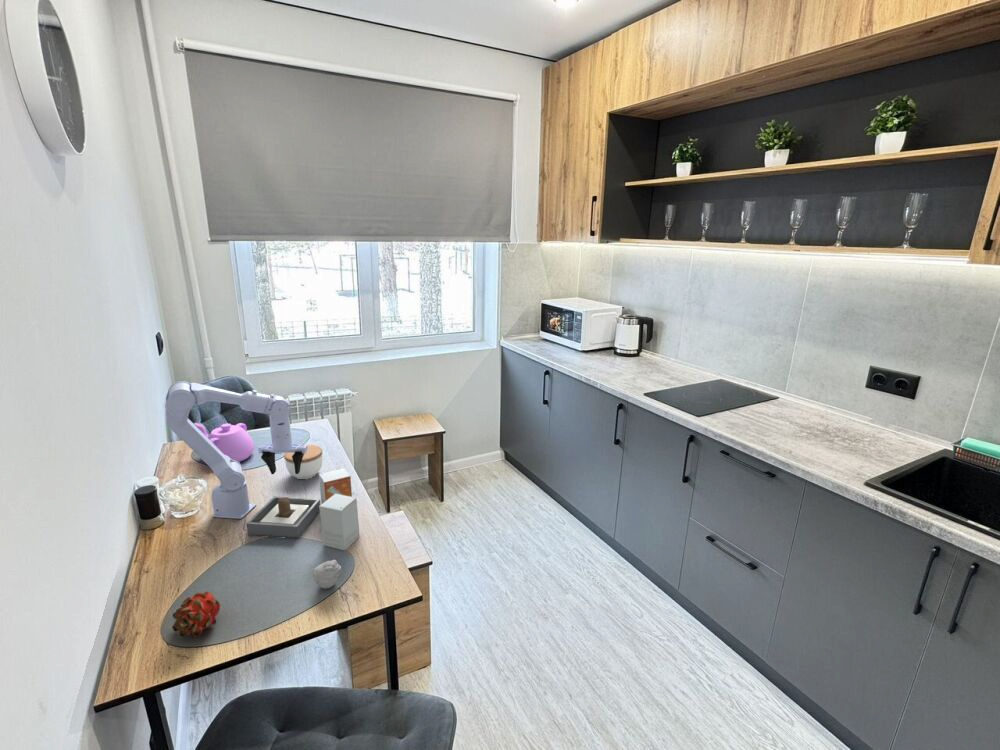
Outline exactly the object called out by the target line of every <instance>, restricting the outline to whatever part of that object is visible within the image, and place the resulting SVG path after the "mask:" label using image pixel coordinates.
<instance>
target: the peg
mask: <svg viewBox="0 0 1000 750" xmlns="http://www.w3.org/2000/svg"><path fill="white" fill-rule="evenodd" d="M282 497H283V498H280V499H279V500H278V508H279V516H280V517H283V518H289V517H290V516H291V509H290V500H289V498H288V497H289V496H282Z"/></svg>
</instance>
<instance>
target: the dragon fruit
mask: <svg viewBox="0 0 1000 750" xmlns="http://www.w3.org/2000/svg"><path fill="white" fill-rule="evenodd" d="M220 605H221V604H220V602H219V600H218V599H216V597H215V596H214V595H213V593H211V592H210V591H207V590H206V591H205V592H199V591H198V592H196V593H195V594H194V595H193V596H192V597H190V596H188V597H186V598H185V599H184V600H183V601H182V604H181V605H180V607H179V608H177V609H176V610H175V612H174V613H172V618H173V619H174V620H175V622H174V624H173V625H172V627H171V628H172V630H173V631H174V632H178V636H179V637H181V638H184V637H185V638H186V637H187V636H192V635H193V636H192V637H193V639H195V638H198V637H200V635H201V634H202V633H203V631H204V630H205V629H208V628H211V627H212V626H216V624H217V618H216V616H217V615H218V614H219V612H220V610H221V609H220V607H221V606H220Z"/></svg>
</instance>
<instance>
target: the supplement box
mask: <svg viewBox="0 0 1000 750" xmlns="http://www.w3.org/2000/svg"><path fill="white" fill-rule="evenodd" d="M357 500H358V499H357V497H355V496H352V497H350V496H345V495H340V494H334V495H333V496H332V497H330V498H329V499H328V500H327V501H325V502H324V503H323V504H321V505H320V506H319V508H320V513H319V516H320V524H321V525H320V526H321V527H320V528H321V535H322V542H323V544H322V545H323V546H325V547H329V548H334V549H337V550H341V551H346V550H347V549H348V548H349V547H350V546H351V545H352V544H354V542H355V541H356V540H358V538H360V526H359V525H360V524H359V514H358V512H359V511H358V501H357Z"/></svg>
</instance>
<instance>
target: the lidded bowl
mask: <svg viewBox="0 0 1000 750" xmlns="http://www.w3.org/2000/svg"><path fill="white" fill-rule="evenodd" d="M306 445H307V452H306V453H304V456H303V458H302V462H301V466H300V472H299V473H298V474H295V466H294V462H293V459H292V456H293V455H294V454H295V452H284V453H283V454H284V455H283V458H284V462H285V467H286V469H287V471H288V473H289V474H290V475H291V476H292V477H294V478H295V477H296V478H297V479H296V478H295V479H296V480H298V479H306V480H309V479H308V478H310V479H312V478H311V477H313V476H314V477H315V476H316V475H317V473H319V472H320V470H321V468H322V465H323V449H322V448H321V446H319V445H315V444H306ZM314 477H313V478H314Z"/></svg>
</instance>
